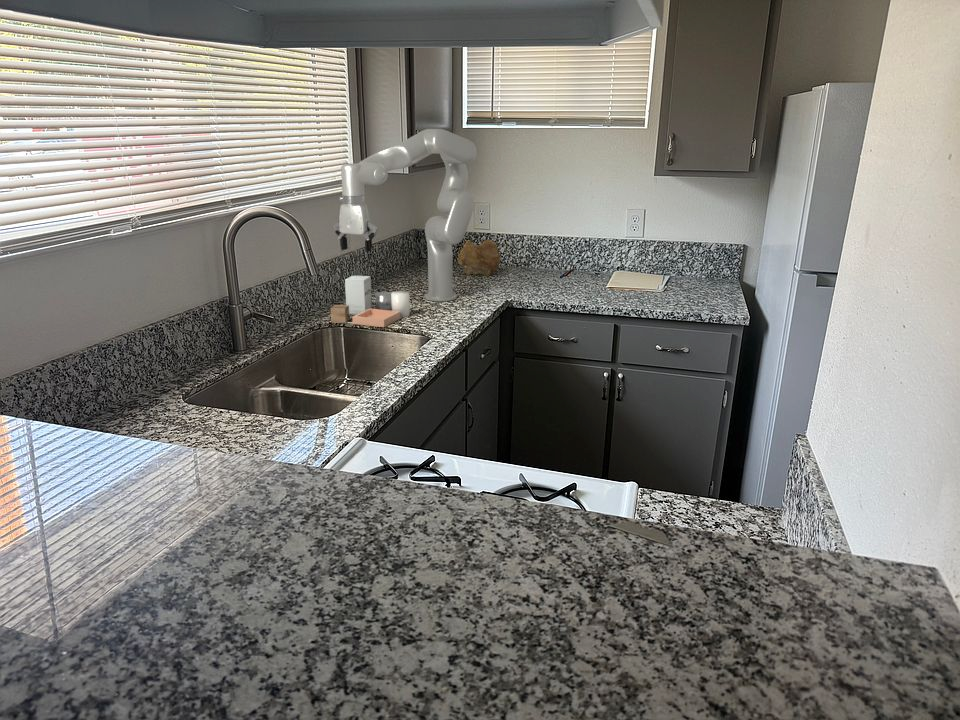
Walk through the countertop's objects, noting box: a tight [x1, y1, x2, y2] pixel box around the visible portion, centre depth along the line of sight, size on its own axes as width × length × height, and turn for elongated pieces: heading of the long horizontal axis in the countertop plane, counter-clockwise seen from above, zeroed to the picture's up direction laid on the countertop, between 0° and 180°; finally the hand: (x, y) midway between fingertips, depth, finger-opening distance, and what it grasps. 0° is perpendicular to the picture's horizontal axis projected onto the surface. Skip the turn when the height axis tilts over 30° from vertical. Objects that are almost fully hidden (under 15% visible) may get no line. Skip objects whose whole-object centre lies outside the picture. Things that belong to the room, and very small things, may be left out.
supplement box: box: [344, 275, 373, 315], centre depth 250 cm, size 7×7×13 cm
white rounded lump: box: [390, 290, 411, 318], centre depth 247 cm, size 6×6×8 cm
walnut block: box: [330, 304, 351, 324], centre depth 240 cm, size 5×5×5 cm
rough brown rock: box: [457, 239, 501, 277], centre depth 316 cm, size 23×17×15 cm
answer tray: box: [351, 308, 401, 328], centre depth 240 cm, size 12×12×2 cm
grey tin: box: [375, 291, 392, 311], centre depth 254 cm, size 6×6×6 cm
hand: (356, 250), depth 245 cm, fingers open, 9 cm apart
